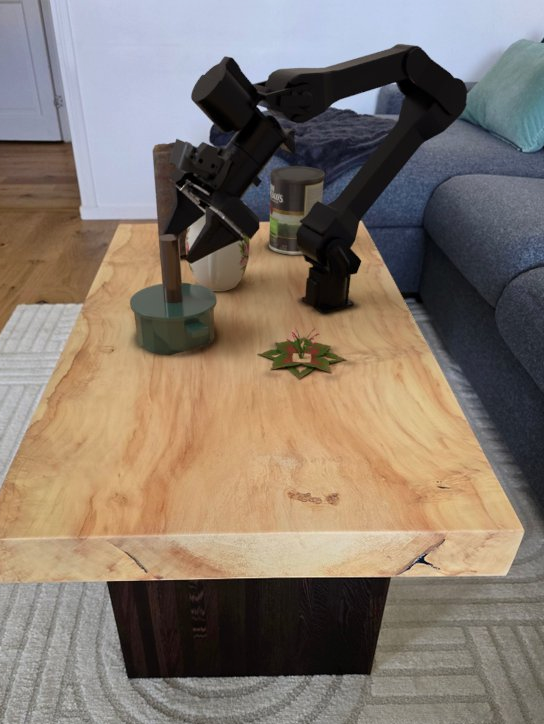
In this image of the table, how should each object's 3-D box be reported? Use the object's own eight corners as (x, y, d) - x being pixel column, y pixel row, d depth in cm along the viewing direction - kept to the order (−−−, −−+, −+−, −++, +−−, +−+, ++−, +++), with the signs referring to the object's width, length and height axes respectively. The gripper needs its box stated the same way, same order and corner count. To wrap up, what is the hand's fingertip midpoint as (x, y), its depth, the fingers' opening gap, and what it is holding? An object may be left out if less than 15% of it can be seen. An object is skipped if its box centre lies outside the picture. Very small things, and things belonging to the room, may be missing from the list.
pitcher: (180, 306, 105) (175, 222, 97) (193, 266, 119) (189, 190, 111) (246, 308, 104) (246, 223, 96) (251, 267, 119) (251, 191, 110)
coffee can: (276, 257, 123) (278, 180, 115) (262, 240, 131) (263, 167, 123) (327, 252, 125) (332, 177, 117) (310, 236, 133) (314, 164, 125)
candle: (195, 261, 122) (190, 148, 110) (157, 261, 122) (148, 148, 110) (198, 247, 128) (193, 139, 116) (162, 247, 128) (153, 139, 116)
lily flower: (242, 357, 91) (242, 328, 88) (304, 334, 97) (306, 306, 94) (297, 392, 83) (299, 361, 80) (361, 364, 89) (365, 335, 86)
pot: (185, 308, 104) (183, 276, 101) (237, 350, 93) (236, 315, 89) (119, 324, 100) (114, 291, 96) (164, 370, 88) (161, 334, 85)
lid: (225, 293, 97) (224, 226, 91) (203, 329, 87) (200, 256, 81) (147, 286, 99) (141, 220, 93) (117, 321, 89) (108, 249, 83)
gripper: (177, 103, 87) (110, 197, 90) (236, 126, 74) (156, 236, 76) (230, 158, 95) (167, 244, 97) (293, 188, 81) (217, 286, 84)
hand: (175, 251), depth 89 cm, fingers open, 9 cm apart
